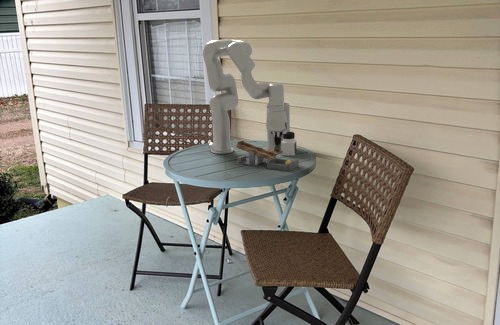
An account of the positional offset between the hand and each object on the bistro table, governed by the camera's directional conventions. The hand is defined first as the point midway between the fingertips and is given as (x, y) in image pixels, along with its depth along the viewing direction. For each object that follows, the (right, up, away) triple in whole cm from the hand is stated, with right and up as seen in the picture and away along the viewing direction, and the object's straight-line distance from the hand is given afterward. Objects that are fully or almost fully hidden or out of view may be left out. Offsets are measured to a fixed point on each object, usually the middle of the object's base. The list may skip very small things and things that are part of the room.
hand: (277, 144), depth 259 cm
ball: (+5, -10, -13) cm, 17 cm away
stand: (-14, -9, -1) cm, 17 cm away
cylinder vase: (+2, -2, +26) cm, 26 cm away
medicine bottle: (+7, -5, +14) cm, 16 cm away
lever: (-9, -3, 0) cm, 9 cm away
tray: (+2, -11, -11) cm, 16 cm away
